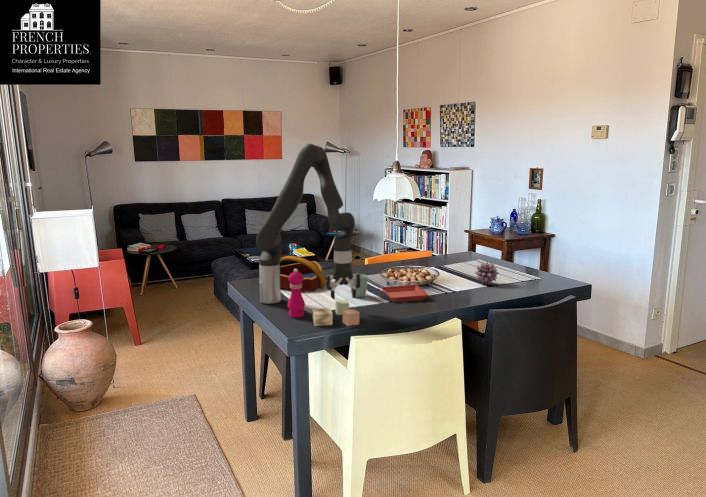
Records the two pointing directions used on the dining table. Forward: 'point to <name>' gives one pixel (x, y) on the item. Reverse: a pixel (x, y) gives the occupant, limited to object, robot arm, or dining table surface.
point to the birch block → (322, 317)
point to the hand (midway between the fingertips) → (343, 298)
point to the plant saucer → (405, 293)
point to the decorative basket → (308, 269)
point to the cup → (363, 286)
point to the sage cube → (341, 306)
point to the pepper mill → (296, 295)
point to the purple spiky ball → (486, 273)
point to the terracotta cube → (350, 317)
